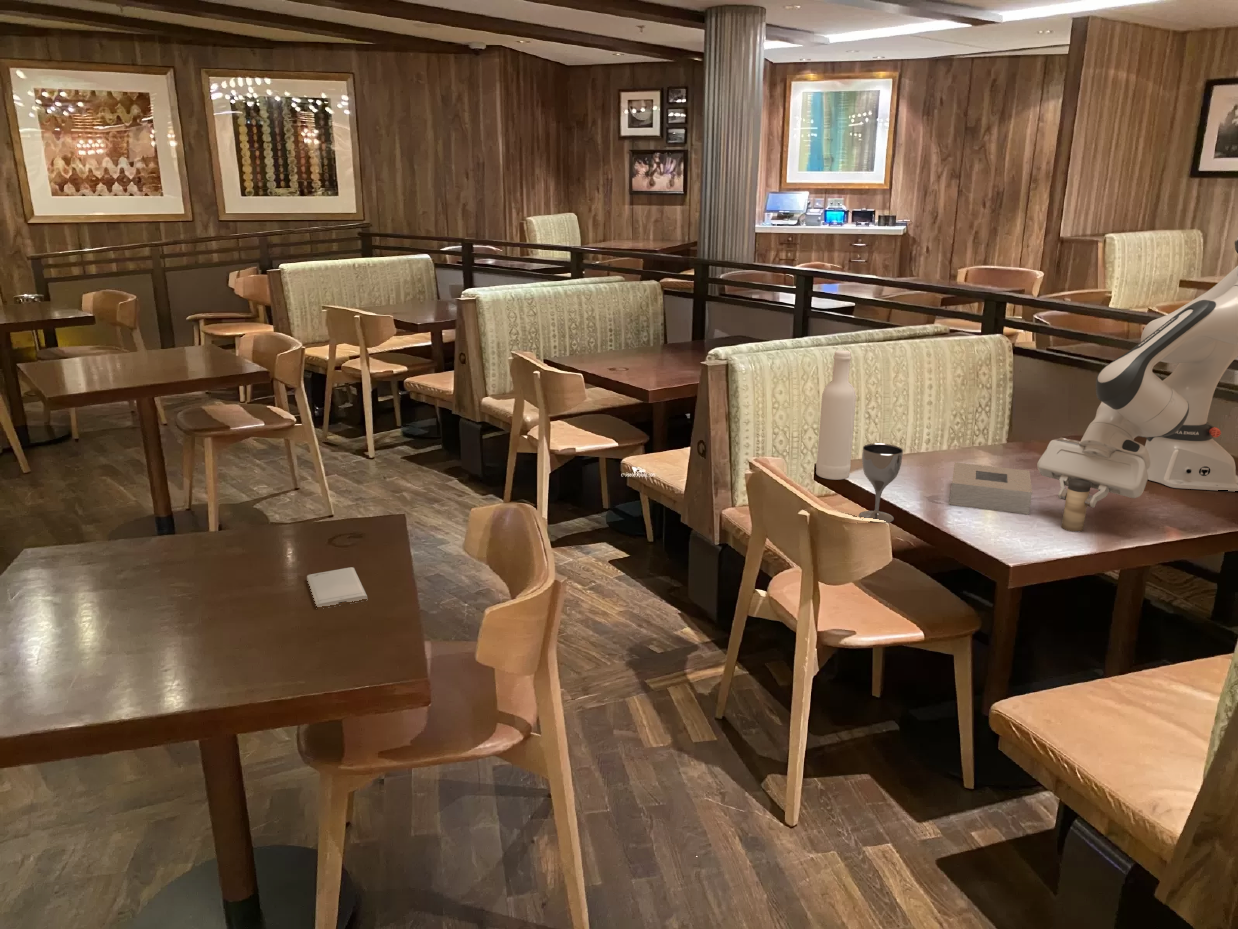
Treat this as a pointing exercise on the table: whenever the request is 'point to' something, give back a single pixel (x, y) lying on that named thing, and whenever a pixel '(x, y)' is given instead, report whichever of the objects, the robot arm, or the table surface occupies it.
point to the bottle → (836, 422)
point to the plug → (1075, 505)
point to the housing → (991, 488)
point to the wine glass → (880, 472)
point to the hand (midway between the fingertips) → (1075, 501)
